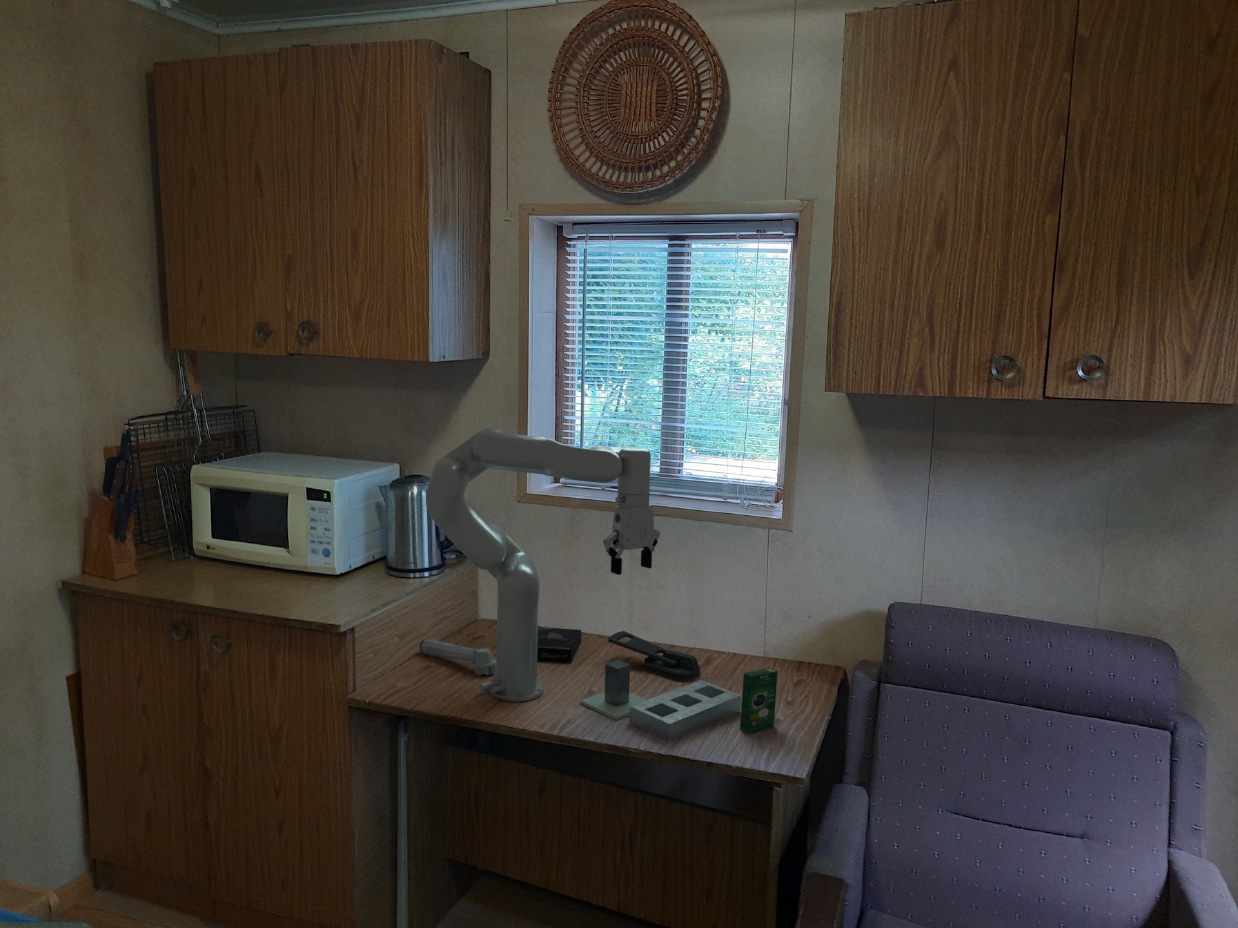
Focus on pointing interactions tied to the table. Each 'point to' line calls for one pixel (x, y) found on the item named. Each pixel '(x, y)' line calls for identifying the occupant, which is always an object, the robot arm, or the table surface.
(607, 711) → the mat
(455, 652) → the grey long angled piece
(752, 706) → the coffee box
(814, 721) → the table surface
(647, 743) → the table surface
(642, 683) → the table surface
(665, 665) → the zipper pull
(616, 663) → the square insert
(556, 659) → the portable cd player
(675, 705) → the block with square holes
